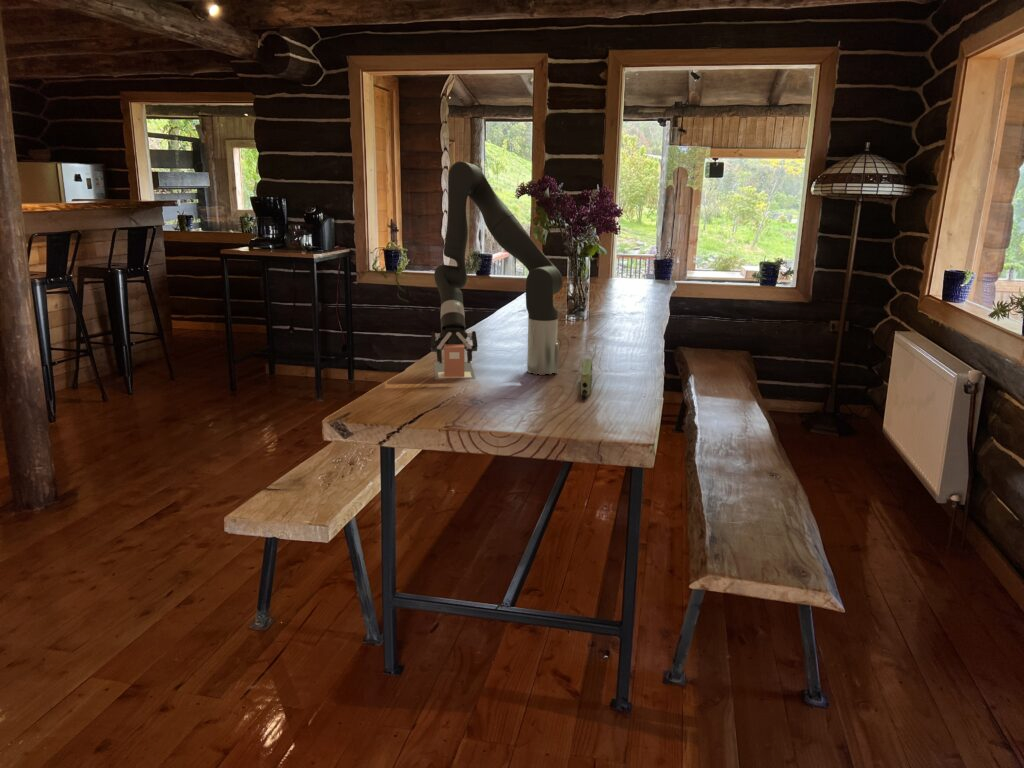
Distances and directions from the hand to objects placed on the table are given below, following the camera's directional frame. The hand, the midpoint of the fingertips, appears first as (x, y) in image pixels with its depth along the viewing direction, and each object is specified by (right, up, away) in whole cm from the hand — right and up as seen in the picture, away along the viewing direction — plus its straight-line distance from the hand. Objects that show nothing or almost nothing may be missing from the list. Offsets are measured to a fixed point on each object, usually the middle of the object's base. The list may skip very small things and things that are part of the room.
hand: (454, 361), depth 221 cm
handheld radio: (+39, -9, -7) cm, 41 cm away
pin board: (-1, -3, +8) cm, 9 cm away
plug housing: (0, -4, +2) cm, 4 cm away
